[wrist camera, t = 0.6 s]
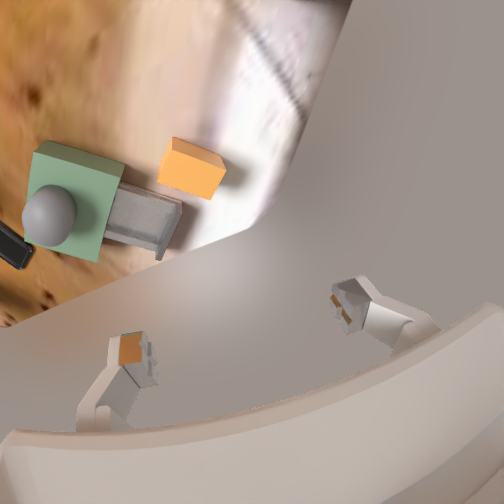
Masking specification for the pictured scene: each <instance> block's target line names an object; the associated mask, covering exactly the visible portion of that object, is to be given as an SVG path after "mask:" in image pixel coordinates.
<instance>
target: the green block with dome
mask: <svg viewBox="0 0 504 504" xmlns="http://www.w3.org/2000/svg"><path fill="white" fill-rule="evenodd" d="M125 165H126V164H123V163H120V162H117V161H114V160H111V159H108V158H105V157H101V156H98V155H95V154H92V153H88V152H85V151H82V150H78V149H75V148H72V147H68V146H65V145H62V144H58V143H55V142H51V141H48V140H46V141H45V142H44V143H43V144H42V145H41V146H40V147H38V148H37V149H36V150H35V151H34V153H33V158H32V164H31V170H30V177H29V185H28V193H27V203H26V206H25V208H24V210H23V213H22V223H23V226H24V229H25V236H24V241H25V242H29V243H32V244H35V245H38V246H41V247H45V248H48V249H51V250H54V251H58V252H61V253H64V254H68V255H71V256H75V257H78V258H82V259H85V260H89V261H92V262H96V263H97V260H98V256H99V252H100V248H101V244H102V240H103V236H104V234H105V230H106V227H107V223H108V220H109V216H110V213H111V209H112V206H113V203H114V199H115V194H116V191H117V188H118V185H119V182H120V179H121V176H122V173H123V171H124V168H125Z"/></svg>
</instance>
